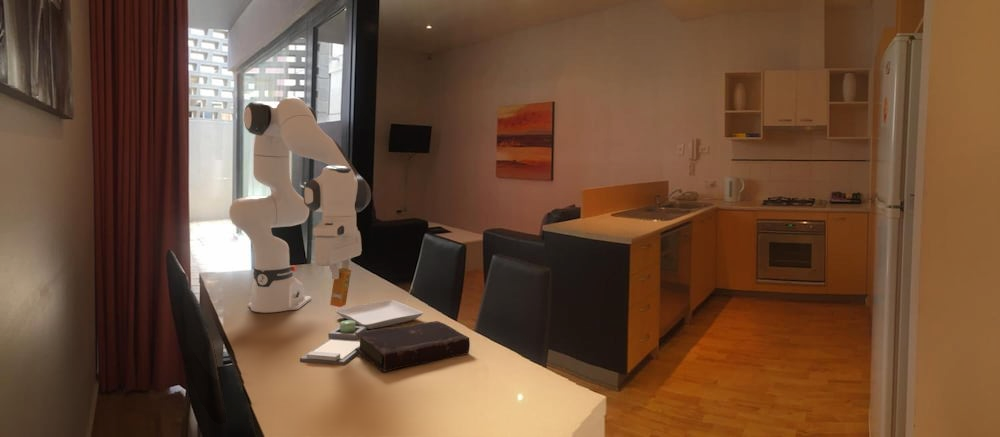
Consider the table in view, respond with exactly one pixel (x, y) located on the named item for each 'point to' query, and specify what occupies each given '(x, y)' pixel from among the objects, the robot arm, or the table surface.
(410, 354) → the diary
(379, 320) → the salad plate
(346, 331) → the button
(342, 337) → the button bezel
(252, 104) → the robot arm
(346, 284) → the supplement box
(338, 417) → the table surface
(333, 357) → the clipboard
